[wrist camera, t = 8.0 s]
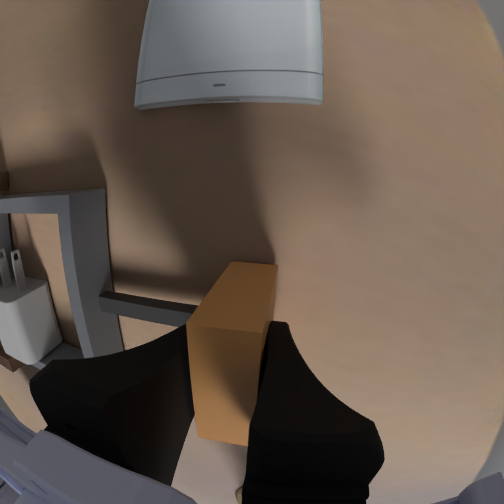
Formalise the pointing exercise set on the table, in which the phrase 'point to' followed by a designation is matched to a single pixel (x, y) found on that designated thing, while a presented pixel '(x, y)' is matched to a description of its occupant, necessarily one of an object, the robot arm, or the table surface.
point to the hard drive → (230, 53)
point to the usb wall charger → (26, 314)
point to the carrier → (161, 312)
